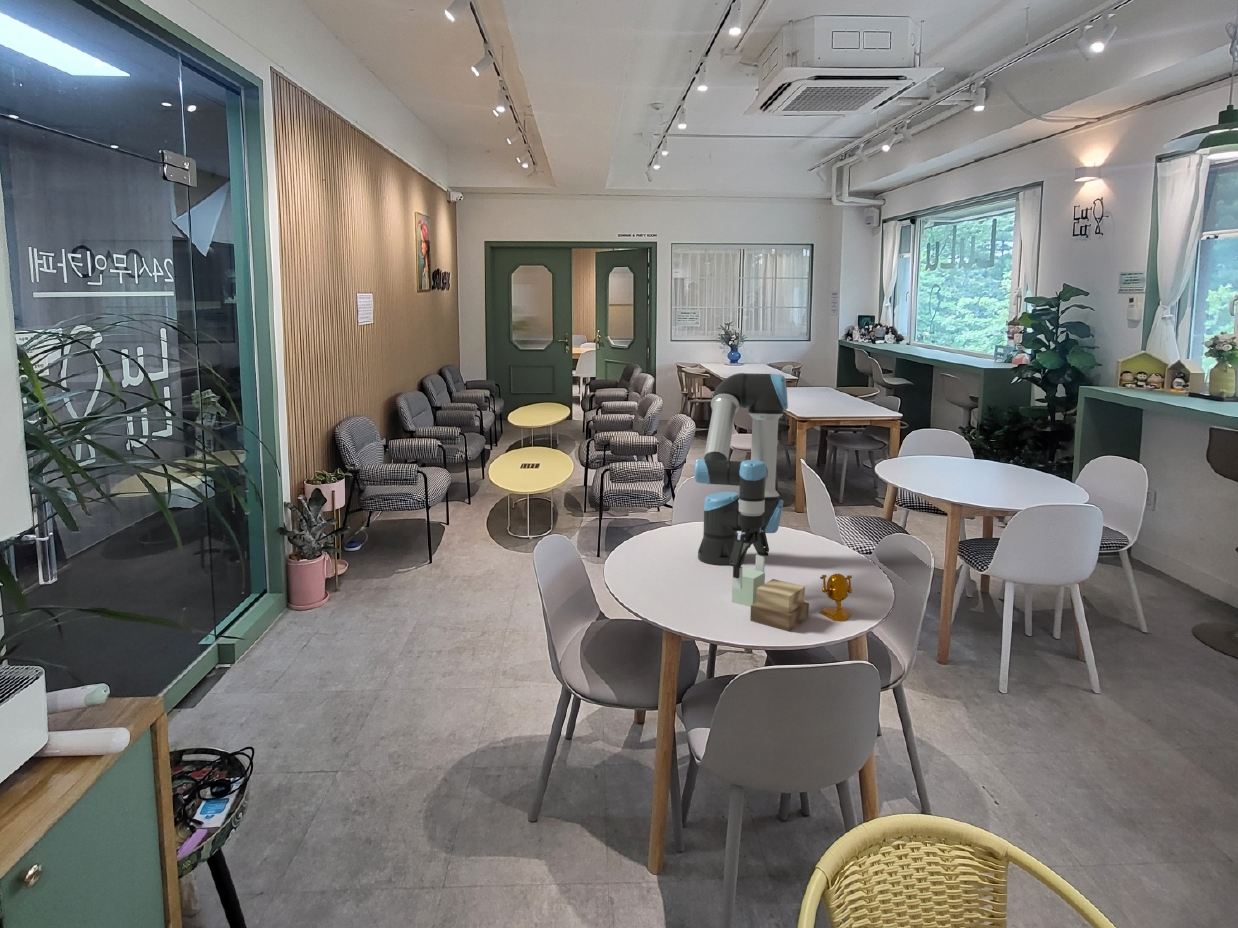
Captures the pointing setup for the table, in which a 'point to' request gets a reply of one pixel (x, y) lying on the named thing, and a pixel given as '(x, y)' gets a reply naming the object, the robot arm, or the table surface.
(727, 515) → the robot arm
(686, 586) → the table surface
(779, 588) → the oak slab
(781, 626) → the walnut slab
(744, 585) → the sage block
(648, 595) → the table surface
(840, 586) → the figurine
